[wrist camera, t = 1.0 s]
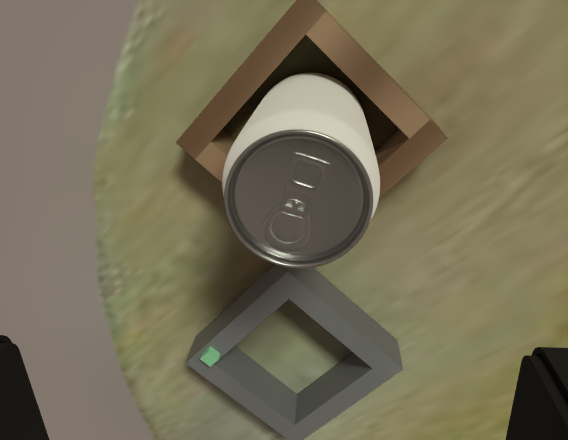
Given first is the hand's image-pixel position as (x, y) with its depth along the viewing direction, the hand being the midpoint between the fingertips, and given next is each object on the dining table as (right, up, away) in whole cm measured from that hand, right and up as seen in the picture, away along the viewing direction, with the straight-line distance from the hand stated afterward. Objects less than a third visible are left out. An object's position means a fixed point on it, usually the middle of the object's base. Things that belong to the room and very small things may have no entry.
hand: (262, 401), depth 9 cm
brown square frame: (+2, +9, +20) cm, 22 cm away
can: (+2, +9, +20) cm, 22 cm away
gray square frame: (+1, -5, +27) cm, 27 cm away
